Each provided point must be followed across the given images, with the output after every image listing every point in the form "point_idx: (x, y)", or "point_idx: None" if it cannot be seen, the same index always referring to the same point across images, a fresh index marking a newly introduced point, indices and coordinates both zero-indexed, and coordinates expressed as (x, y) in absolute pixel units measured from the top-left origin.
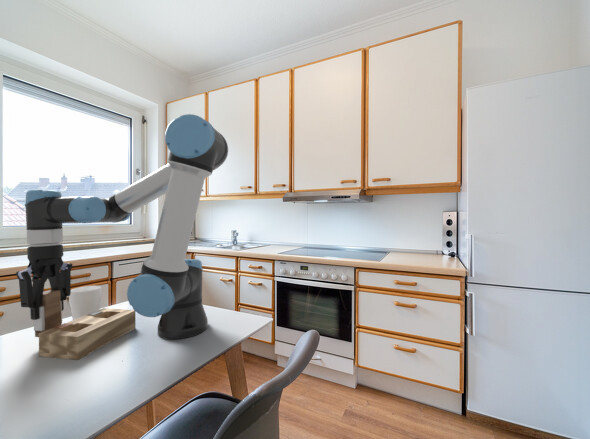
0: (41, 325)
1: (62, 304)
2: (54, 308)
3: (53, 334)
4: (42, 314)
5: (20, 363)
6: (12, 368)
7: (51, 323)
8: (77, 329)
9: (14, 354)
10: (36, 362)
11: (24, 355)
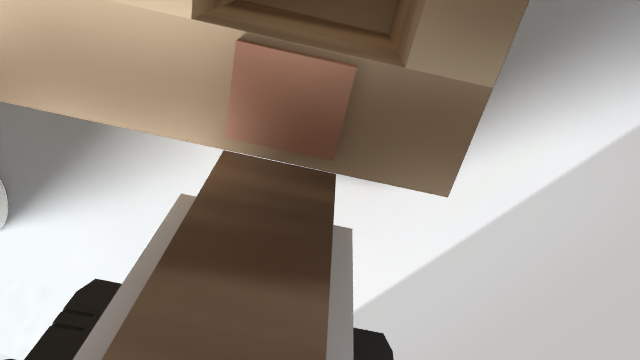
0: (350, 262)
1: (58, 338)
2: (219, 326)
3: (503, 42)
4: (341, 341)
5: (495, 158)
6: (551, 154)
7: (289, 222)
8: (212, 7)
9: (376, 263)
10: (505, 73)
11: (395, 209)
